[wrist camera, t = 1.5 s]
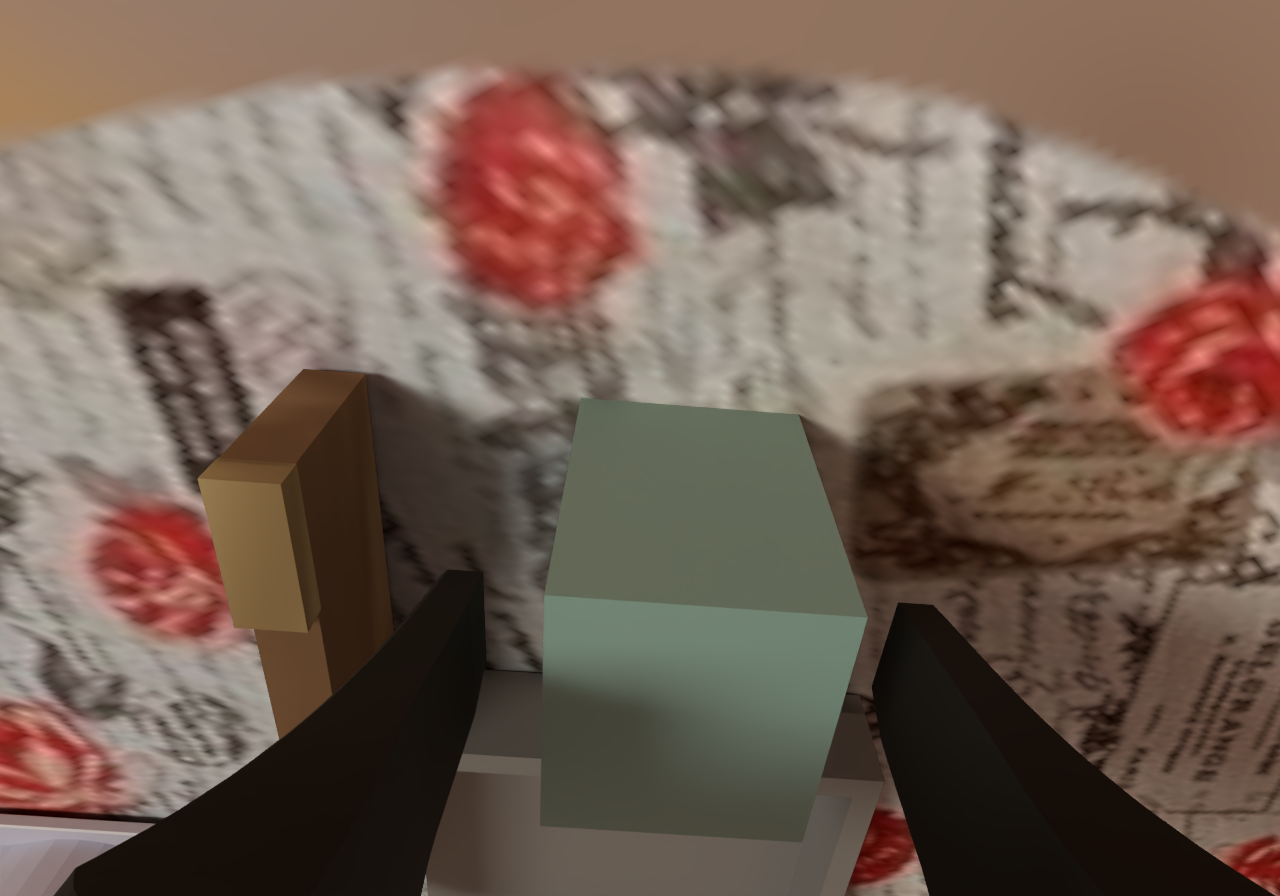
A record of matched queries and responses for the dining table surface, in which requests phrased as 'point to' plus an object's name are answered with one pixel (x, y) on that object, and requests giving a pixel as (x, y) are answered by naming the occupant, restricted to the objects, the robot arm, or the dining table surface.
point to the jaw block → (693, 626)
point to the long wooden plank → (304, 539)
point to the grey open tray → (619, 860)
